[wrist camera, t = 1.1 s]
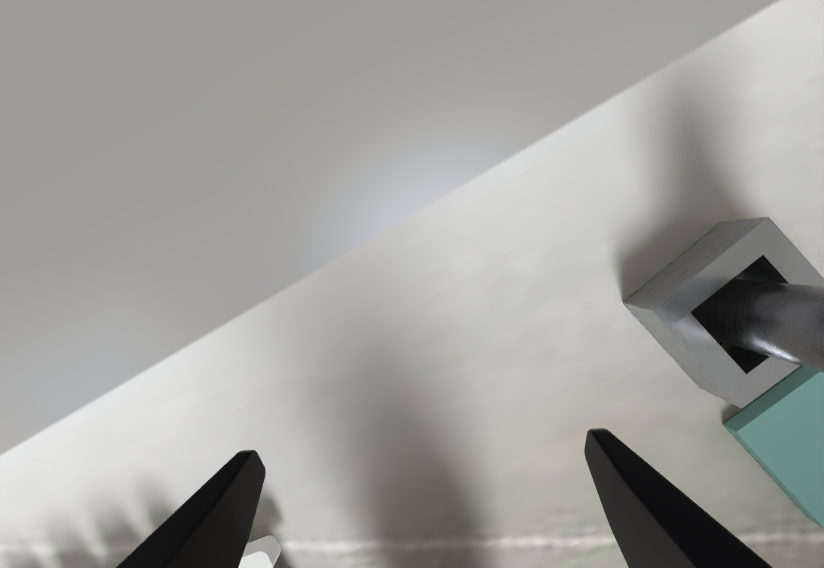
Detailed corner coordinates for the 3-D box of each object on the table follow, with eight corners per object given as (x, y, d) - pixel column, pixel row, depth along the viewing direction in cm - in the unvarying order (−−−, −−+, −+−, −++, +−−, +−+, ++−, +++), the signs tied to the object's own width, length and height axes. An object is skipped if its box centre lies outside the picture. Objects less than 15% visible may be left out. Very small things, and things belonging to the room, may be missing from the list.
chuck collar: (801, 311, 21) (861, 320, 18) (700, 388, 22) (741, 408, 19) (721, 222, 21) (768, 216, 18) (622, 302, 22) (652, 310, 19)
